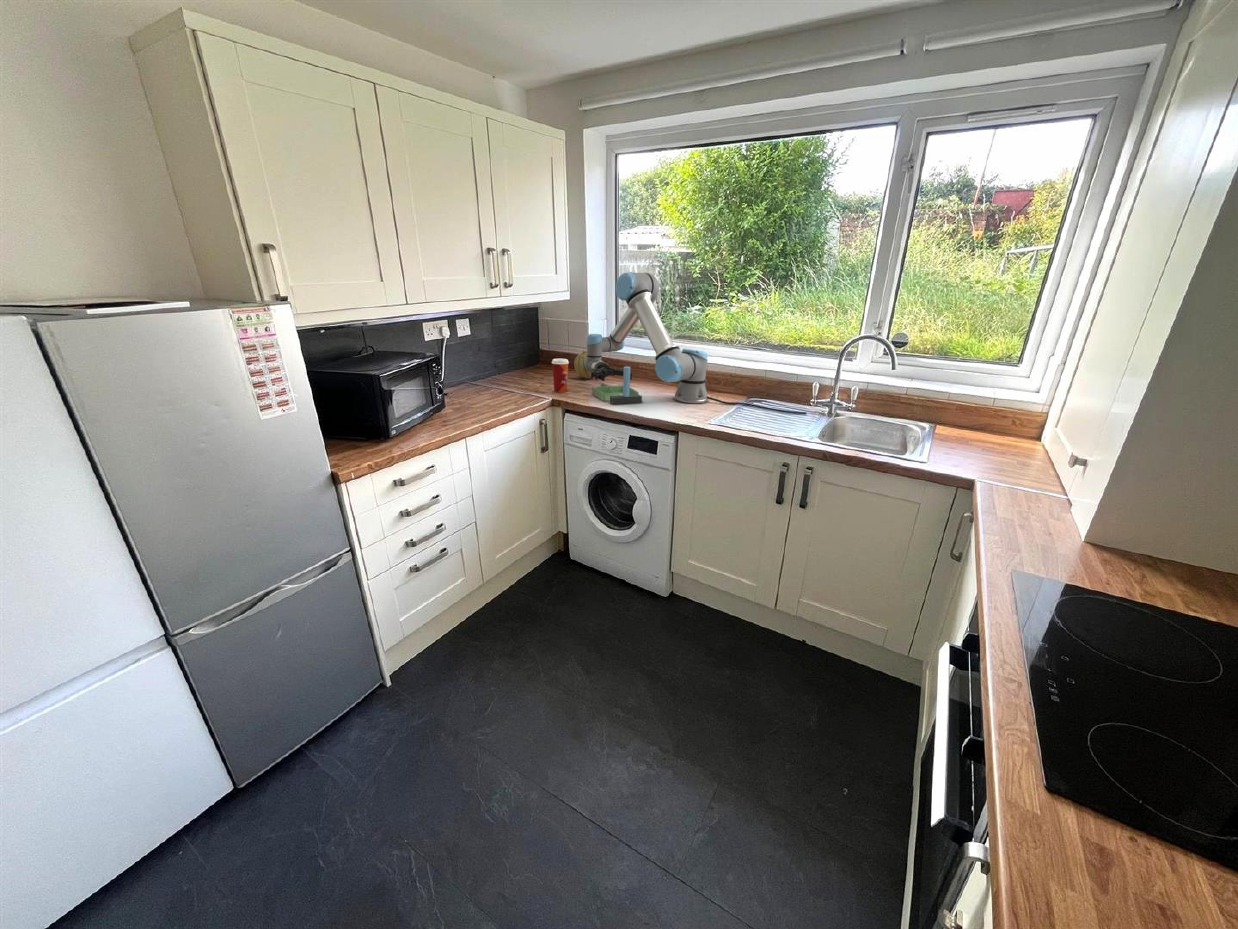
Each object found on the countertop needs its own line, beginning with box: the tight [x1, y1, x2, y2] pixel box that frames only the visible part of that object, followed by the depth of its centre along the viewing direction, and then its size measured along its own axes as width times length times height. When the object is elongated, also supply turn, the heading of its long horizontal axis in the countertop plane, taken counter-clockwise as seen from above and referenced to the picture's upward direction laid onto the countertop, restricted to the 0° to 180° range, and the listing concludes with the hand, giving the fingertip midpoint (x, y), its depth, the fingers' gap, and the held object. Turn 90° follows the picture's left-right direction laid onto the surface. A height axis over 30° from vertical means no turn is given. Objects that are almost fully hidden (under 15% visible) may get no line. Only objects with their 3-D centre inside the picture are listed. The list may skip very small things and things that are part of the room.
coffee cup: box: [551, 358, 570, 393], centre depth 239 cm, size 8×8×15 cm
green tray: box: [592, 382, 639, 402], centre depth 238 cm, size 25×17×3 cm
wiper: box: [609, 366, 643, 406], centre depth 221 cm, size 4×14×16 cm, turn 113°
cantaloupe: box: [573, 350, 592, 380], centre depth 268 cm, size 15×15×15 cm
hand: (617, 377), depth 229 cm, fingers open, 13 cm apart
